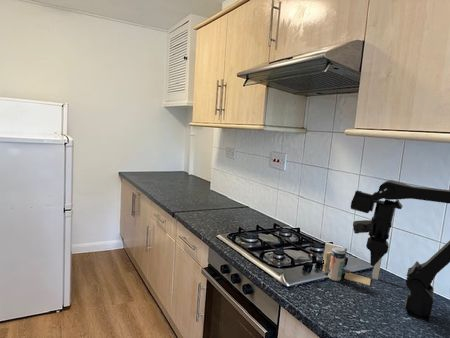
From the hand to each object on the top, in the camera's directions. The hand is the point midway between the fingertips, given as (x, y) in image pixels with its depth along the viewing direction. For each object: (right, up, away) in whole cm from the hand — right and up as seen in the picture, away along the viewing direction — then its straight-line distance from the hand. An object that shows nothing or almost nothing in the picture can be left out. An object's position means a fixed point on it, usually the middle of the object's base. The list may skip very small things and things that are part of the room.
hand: (372, 259), depth 108 cm
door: (-8, -9, +16) cm, 20 cm away
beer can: (-10, -10, +11) cm, 18 cm away
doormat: (0, -11, +12) cm, 16 cm away
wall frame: (-1, -10, +18) cm, 21 cm away
